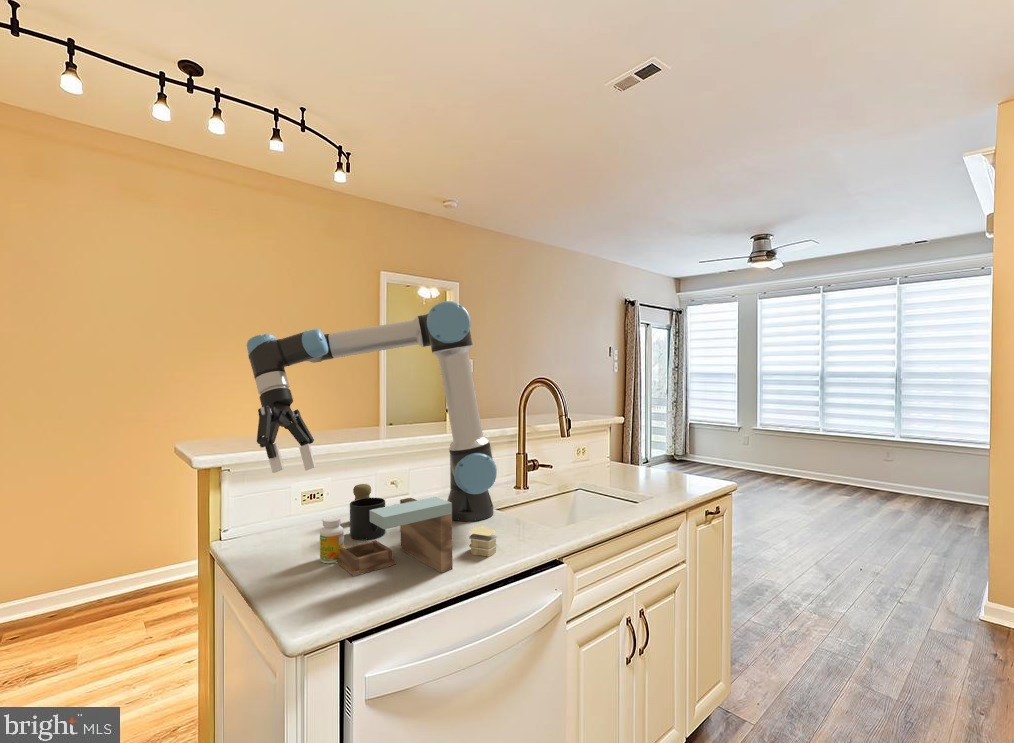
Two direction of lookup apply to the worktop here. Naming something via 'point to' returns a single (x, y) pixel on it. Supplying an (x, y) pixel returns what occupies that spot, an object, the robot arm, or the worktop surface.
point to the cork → (362, 491)
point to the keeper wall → (429, 540)
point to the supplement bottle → (331, 540)
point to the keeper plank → (410, 512)
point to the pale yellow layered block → (483, 541)
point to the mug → (365, 519)
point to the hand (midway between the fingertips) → (295, 469)
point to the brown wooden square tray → (365, 557)
